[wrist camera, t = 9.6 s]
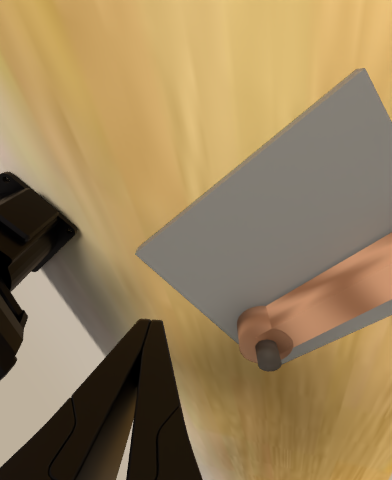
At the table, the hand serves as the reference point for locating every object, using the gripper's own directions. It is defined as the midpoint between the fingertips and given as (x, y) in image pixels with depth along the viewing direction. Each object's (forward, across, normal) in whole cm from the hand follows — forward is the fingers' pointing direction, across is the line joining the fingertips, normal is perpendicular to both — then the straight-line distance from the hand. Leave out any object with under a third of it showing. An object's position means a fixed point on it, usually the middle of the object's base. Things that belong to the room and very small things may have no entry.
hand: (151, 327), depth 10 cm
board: (+12, -10, +4) cm, 16 cm away
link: (+11, -12, +6) cm, 17 cm away
